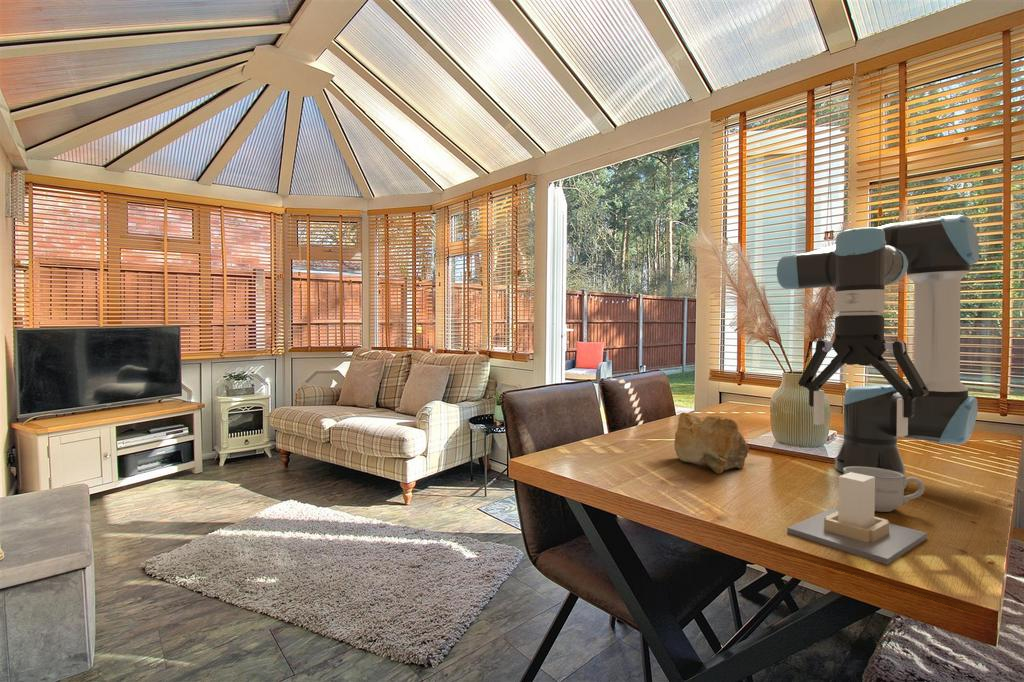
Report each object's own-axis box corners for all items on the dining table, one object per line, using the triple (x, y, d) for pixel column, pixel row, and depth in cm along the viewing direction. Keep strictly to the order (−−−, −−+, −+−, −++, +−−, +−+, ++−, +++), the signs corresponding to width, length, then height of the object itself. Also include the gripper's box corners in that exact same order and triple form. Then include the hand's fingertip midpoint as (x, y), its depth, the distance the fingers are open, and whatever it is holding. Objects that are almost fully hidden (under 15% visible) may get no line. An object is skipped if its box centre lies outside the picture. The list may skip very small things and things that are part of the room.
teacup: (836, 507, 110) (837, 470, 110) (849, 495, 117) (849, 461, 117) (919, 525, 100) (919, 484, 100) (927, 511, 108) (927, 473, 107)
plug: (850, 524, 98) (850, 472, 98) (874, 530, 95) (874, 476, 94) (838, 530, 95) (838, 476, 95) (862, 537, 92) (863, 481, 91)
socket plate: (831, 512, 107) (832, 498, 106) (927, 538, 93) (927, 522, 93) (787, 532, 96) (787, 517, 96) (887, 564, 83) (887, 546, 83)
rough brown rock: (772, 479, 133) (775, 421, 133) (715, 478, 129) (719, 419, 130) (717, 460, 156) (720, 410, 156) (668, 458, 152) (671, 408, 152)
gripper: (780, 315, 102) (779, 421, 103) (937, 312, 81) (935, 445, 82) (799, 315, 106) (798, 417, 107) (952, 312, 86) (951, 438, 86)
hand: (858, 429), depth 95 cm, fingers open, 13 cm apart
